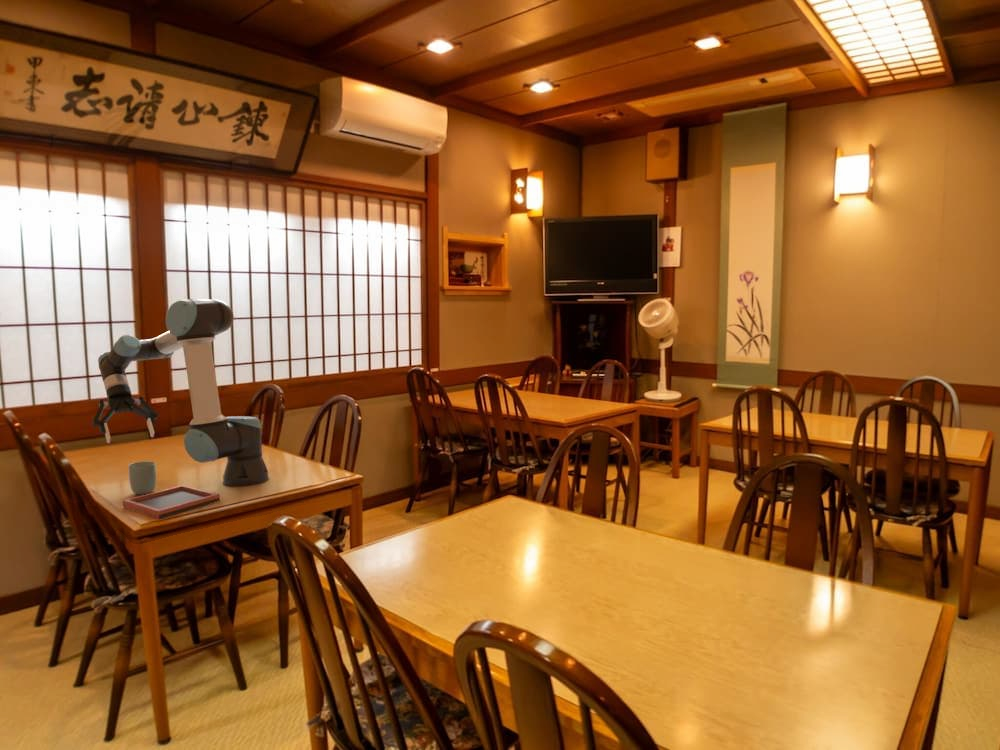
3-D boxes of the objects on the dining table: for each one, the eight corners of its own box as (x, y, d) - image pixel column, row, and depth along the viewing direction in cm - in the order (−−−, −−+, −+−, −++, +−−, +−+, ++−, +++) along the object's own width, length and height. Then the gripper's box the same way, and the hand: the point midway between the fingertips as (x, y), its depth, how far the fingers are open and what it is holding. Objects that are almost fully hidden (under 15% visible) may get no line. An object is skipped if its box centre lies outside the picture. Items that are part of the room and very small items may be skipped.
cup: (162, 490, 226) (159, 461, 225) (147, 496, 218) (145, 467, 217) (140, 489, 227) (138, 461, 226) (125, 496, 219) (123, 466, 218)
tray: (219, 501, 213) (219, 494, 213) (158, 519, 196) (158, 511, 196) (183, 491, 224) (183, 484, 224) (123, 507, 207) (122, 500, 207)
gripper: (154, 392, 248) (168, 438, 239) (76, 399, 232) (88, 449, 223) (157, 380, 244) (172, 426, 235) (78, 386, 227) (90, 436, 218)
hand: (131, 437), depth 229 cm, fingers open, 13 cm apart
